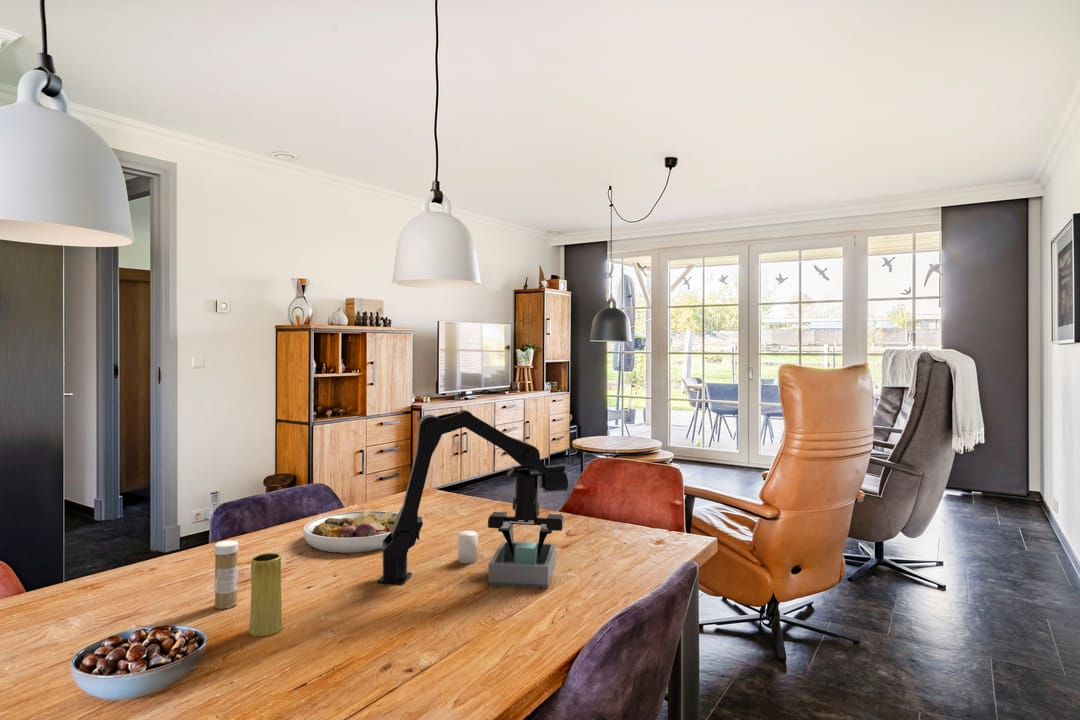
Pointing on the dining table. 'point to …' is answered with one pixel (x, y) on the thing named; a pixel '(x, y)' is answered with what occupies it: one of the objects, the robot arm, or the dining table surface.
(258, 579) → the vase
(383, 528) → the bowl
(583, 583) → the dining table surface
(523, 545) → the teal cube
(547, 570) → the tote
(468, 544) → the white cylinder
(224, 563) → the spice jar
